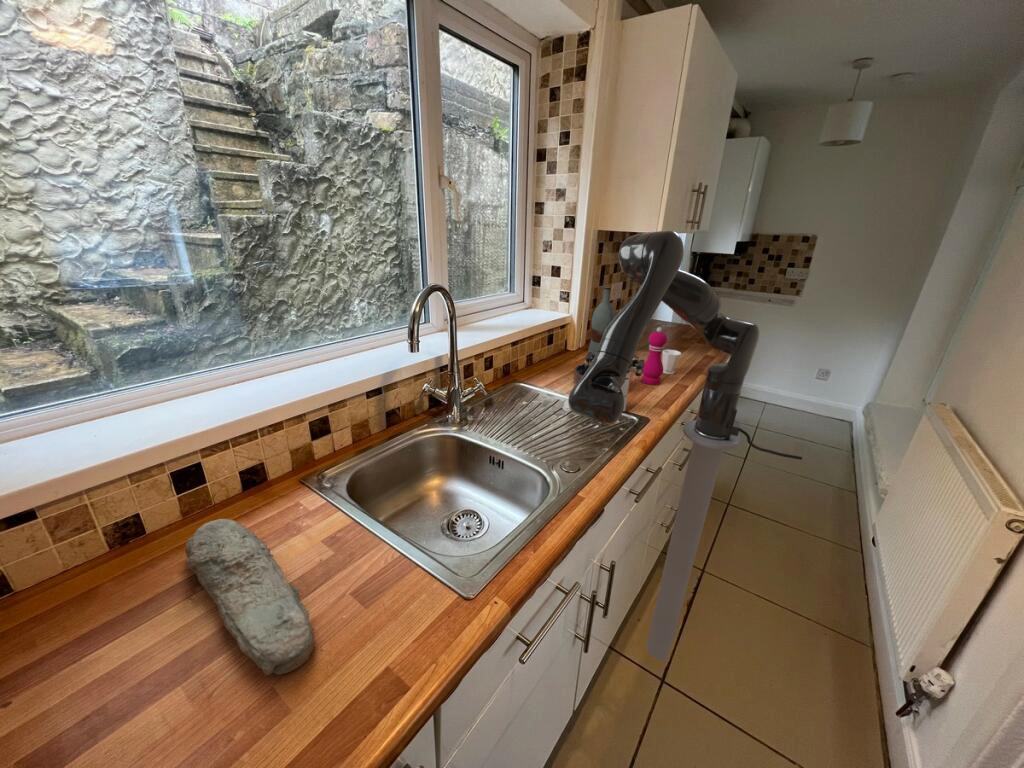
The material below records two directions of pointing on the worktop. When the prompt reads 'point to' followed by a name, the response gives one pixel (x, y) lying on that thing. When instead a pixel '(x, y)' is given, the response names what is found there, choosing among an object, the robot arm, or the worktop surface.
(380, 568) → the worktop surface
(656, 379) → the pepper mill
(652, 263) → the robot arm
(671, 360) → the cup
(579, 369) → the pan
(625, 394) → the syrup box
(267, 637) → the long grey stone
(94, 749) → the worktop surface
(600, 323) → the bottle
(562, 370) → the worktop surface
